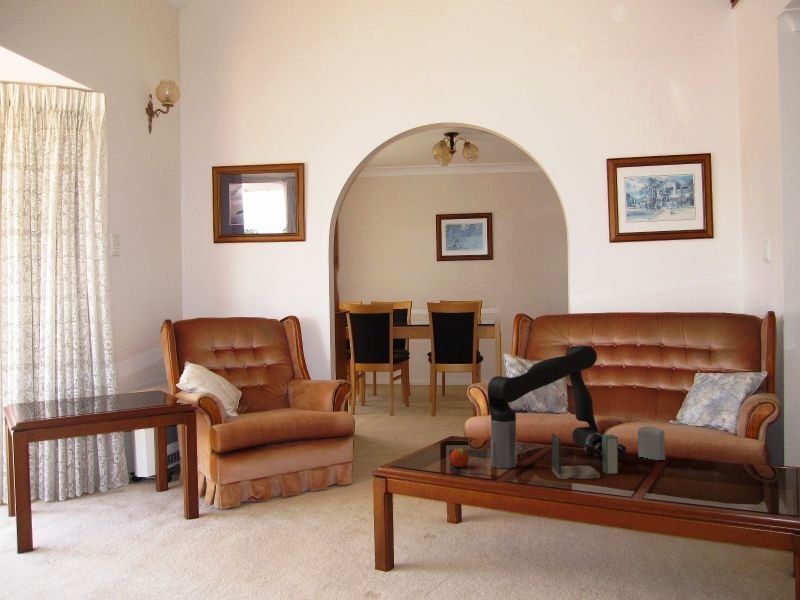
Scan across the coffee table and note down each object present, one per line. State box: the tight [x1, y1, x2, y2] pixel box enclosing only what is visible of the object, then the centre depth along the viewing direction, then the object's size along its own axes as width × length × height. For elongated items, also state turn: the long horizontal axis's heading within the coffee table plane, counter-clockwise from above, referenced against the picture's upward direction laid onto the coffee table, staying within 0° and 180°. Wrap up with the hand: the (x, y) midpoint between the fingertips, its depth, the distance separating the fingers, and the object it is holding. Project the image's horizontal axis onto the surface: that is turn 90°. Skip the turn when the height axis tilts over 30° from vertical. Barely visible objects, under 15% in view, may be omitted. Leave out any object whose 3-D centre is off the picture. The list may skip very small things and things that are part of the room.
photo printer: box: [637, 425, 666, 461], centre depth 267 cm, size 10×4×12 cm, turn 39°
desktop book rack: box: [551, 433, 601, 480], centre depth 245 cm, size 14×12×14 cm
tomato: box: [450, 447, 470, 468], centre depth 258 cm, size 8×7×7 cm
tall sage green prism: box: [601, 434, 619, 475], centre depth 247 cm, size 4×5×13 cm
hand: (611, 453), depth 245 cm, fingers open, 7 cm apart
